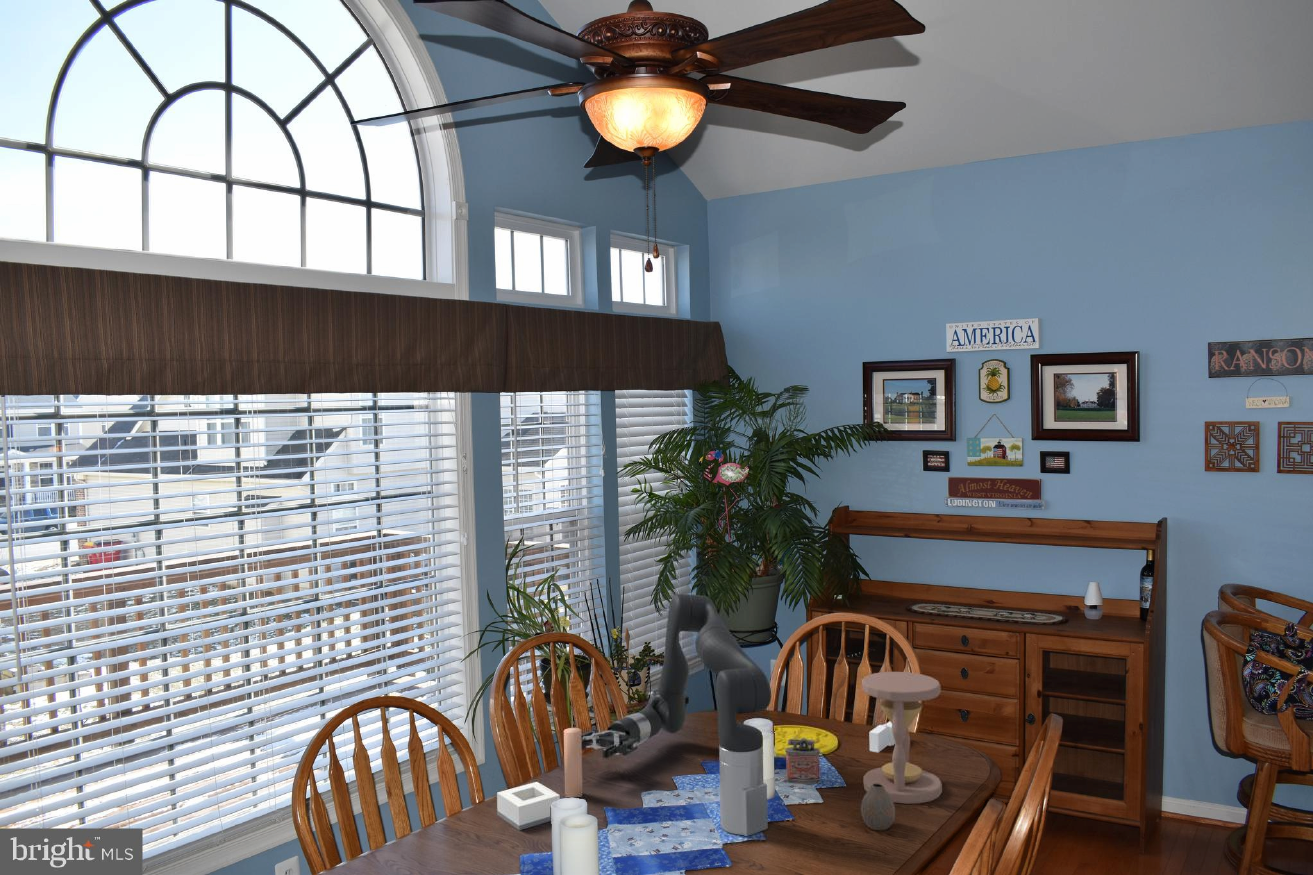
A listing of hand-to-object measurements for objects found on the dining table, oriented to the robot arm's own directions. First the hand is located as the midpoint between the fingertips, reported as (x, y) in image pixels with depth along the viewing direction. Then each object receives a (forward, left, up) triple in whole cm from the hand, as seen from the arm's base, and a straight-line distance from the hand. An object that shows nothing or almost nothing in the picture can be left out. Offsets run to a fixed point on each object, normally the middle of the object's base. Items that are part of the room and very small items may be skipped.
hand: (589, 750), depth 226 cm
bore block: (-6, +20, -9) cm, 22 cm away
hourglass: (-47, -55, -9) cm, 73 cm away
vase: (-57, -35, -9) cm, 68 cm away
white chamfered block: (-25, -76, -9) cm, 80 cm away
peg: (-2, +6, -9) cm, 10 cm away
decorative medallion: (-8, -58, -9) cm, 60 cm away
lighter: (-29, -41, -9) cm, 51 cm away
